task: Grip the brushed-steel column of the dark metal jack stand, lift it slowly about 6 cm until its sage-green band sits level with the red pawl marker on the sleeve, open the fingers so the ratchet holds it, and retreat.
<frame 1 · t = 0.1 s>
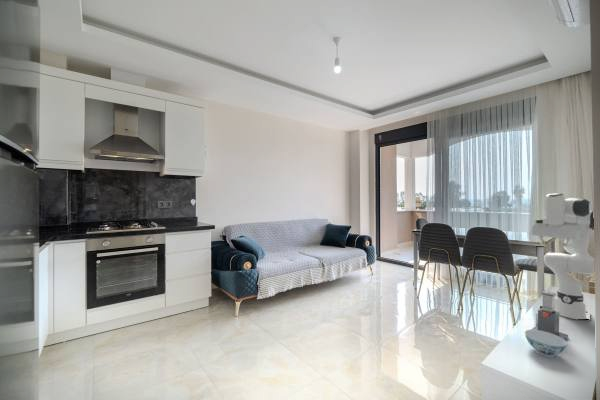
hand: (554, 245, 156), 48 cm above the table, fingers open, 8 cm apart
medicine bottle: (546, 327, 157), on the table
stand base: (548, 335, 147), on the table
column: (548, 312, 147), point 12 cm above the table, slide at 0.0 cm
chinaware: (544, 353, 131), on the table
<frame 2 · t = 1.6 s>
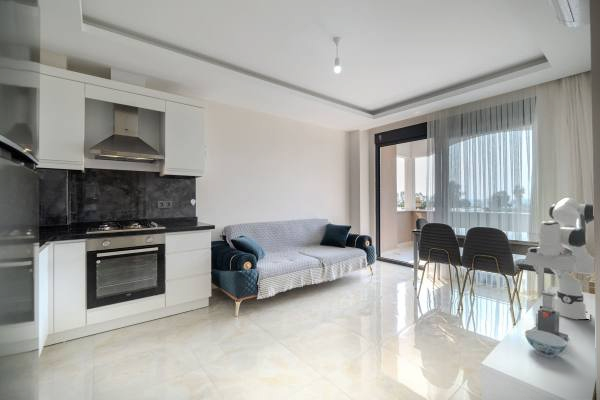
hand: (549, 276, 147), 33 cm above the table, fingers open, 8 cm apart
nothing on the table moved.
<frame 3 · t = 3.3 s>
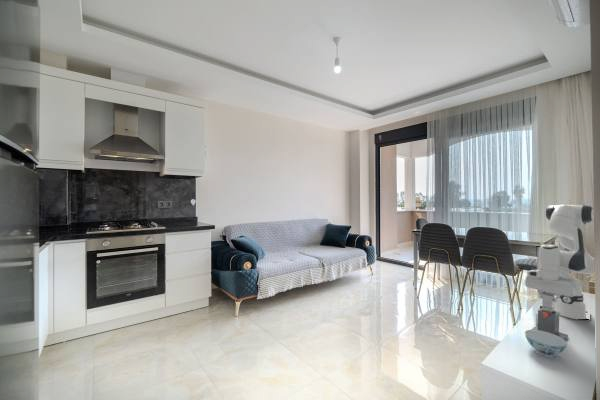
hand: (548, 299, 147), 20 cm above the table, fingers closed on column, 4 cm apart
column: (548, 312, 147), point 12 cm above the table, slide at 0.0 cm, touching gripper, stand base
everything else where it was.
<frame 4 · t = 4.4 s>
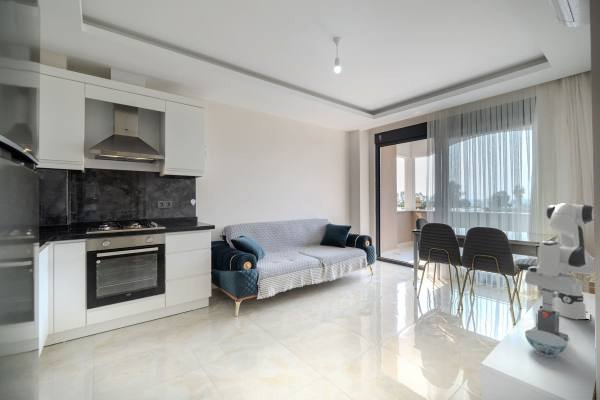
hand: (548, 296, 147), 22 cm above the table, fingers closed on column, 4 cm apart
column: (548, 309, 147), point 14 cm above the table, slide at 2.0 cm, touching gripper
everything else where it was.
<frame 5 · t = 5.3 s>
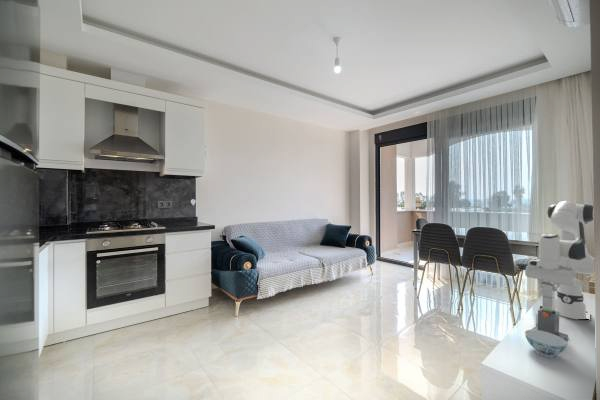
hand: (548, 289, 147), 25 cm above the table, fingers closed on column, 4 cm apart
column: (548, 302, 147), point 18 cm above the table, slide at 5.7 cm, touching gripper
everything else where it was.
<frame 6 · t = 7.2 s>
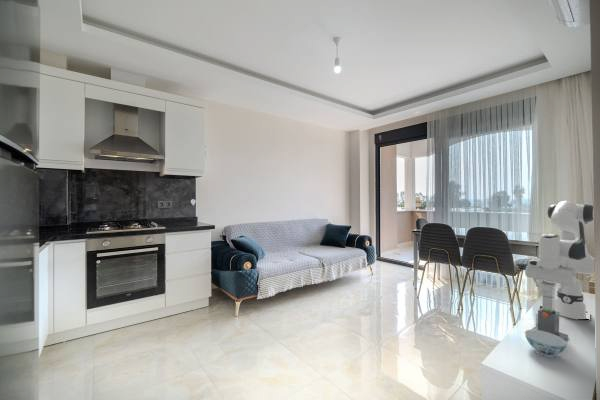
hand: (548, 289, 147), 26 cm above the table, fingers open, 8 cm apart
column: (548, 302, 147), point 18 cm above the table, slide at 5.8 cm
everything else where it was.
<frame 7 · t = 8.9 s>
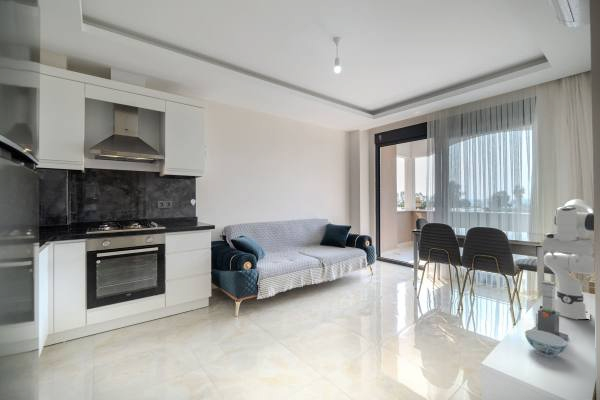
hand: (566, 260, 150), 40 cm above the table, fingers open, 8 cm apart
nothing on the table moved.
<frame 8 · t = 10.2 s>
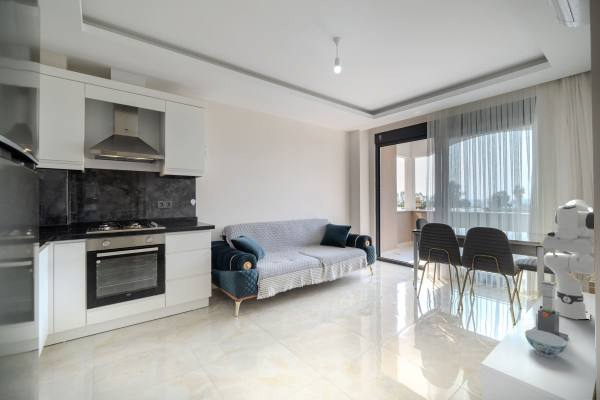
hand: (566, 259, 150), 41 cm above the table, fingers open, 8 cm apart
nothing on the table moved.
at the end: column slide at 5.8 cm; the gripper is holding nothing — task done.
